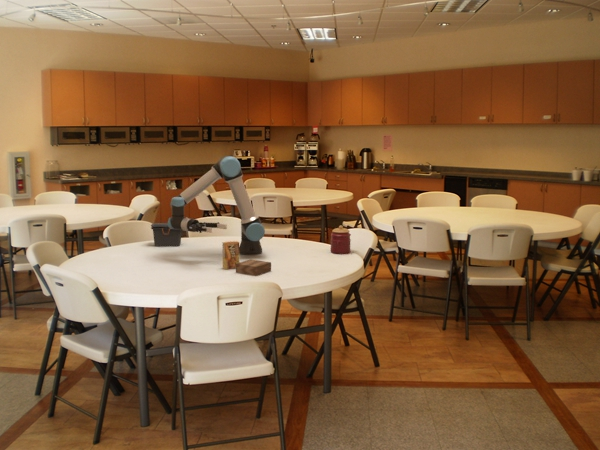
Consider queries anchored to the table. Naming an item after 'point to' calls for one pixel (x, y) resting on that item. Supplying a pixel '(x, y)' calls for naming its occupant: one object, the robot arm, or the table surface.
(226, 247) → the candy box
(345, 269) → the table surface
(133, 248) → the table surface
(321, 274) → the table surface
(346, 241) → the canister
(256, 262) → the walnut base
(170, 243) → the storage bin
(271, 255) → the table surface
